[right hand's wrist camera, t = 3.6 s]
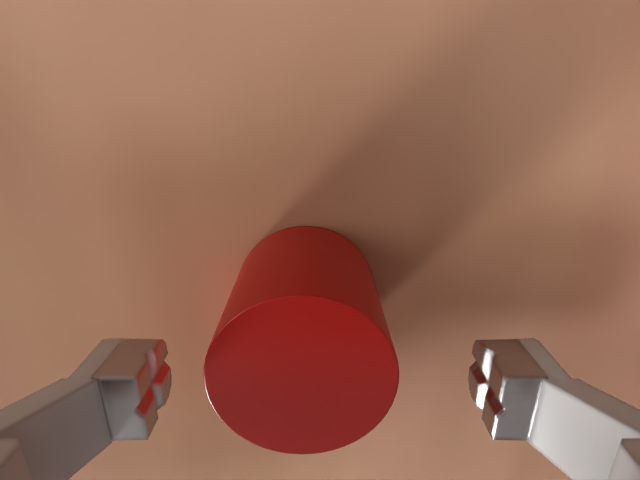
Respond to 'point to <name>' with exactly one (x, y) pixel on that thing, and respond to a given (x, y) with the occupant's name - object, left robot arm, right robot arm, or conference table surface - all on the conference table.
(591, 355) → the conference table surface
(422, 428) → the conference table surface
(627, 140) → the conference table surface
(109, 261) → the conference table surface
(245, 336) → the canister
